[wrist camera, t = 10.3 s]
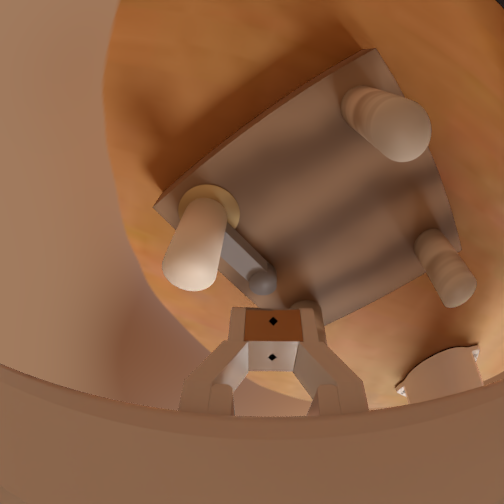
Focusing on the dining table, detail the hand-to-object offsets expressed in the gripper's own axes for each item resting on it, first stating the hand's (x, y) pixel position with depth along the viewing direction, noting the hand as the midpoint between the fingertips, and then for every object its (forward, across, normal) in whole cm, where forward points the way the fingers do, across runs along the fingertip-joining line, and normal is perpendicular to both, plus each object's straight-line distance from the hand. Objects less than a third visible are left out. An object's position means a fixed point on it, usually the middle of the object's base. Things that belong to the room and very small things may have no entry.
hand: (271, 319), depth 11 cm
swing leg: (+14, -3, -6) cm, 15 cm away
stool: (+17, +6, -4) cm, 19 cm away
